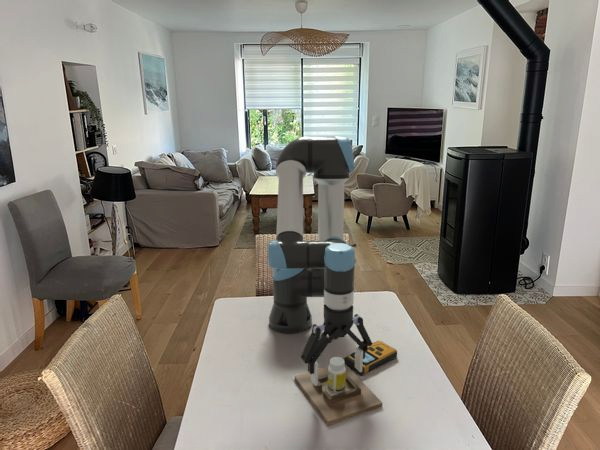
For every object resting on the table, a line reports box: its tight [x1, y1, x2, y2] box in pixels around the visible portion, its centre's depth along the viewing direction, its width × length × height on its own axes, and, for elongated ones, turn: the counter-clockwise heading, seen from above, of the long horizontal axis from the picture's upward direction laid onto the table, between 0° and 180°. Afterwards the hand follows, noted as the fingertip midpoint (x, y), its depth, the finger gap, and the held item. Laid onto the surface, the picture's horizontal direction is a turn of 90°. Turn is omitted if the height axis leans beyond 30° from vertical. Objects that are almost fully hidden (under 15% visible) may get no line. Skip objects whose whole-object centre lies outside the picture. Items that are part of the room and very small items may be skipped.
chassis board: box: [293, 364, 383, 426], centre depth 119 cm, size 20×16×3 cm
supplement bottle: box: [328, 356, 346, 393], centre depth 118 cm, size 5×5×8 cm
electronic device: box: [343, 340, 398, 377], centre depth 133 cm, size 8×16×3 cm, turn 128°
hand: (336, 376), depth 118 cm, fingers open, 13 cm apart
